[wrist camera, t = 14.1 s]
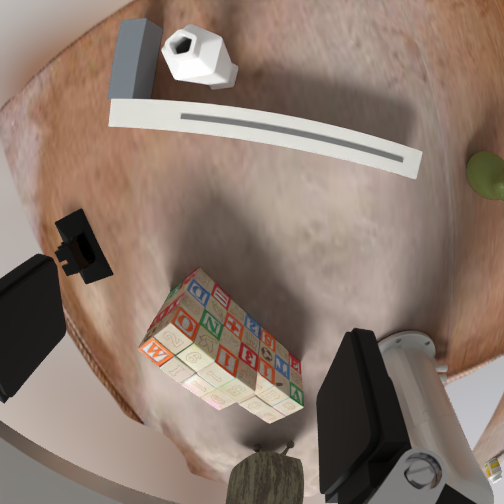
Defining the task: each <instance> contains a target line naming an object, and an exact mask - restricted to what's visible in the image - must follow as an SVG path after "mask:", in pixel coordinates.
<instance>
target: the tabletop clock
mask: <svg viewBox="0 0 504 504" xmlns="http://www.w3.org/2000/svg"><path fill="white" fill-rule="evenodd" d="M294 445H295V444H294V442H293V441H289V442H288V443H287V448H286V449H285V450H284V451H283V452H282V453H281V454H278V453H275V452H271V451H263V452H259V451H260V450H261V447H260V446H259V445H255V446H254V447H253V450H254V451H255V452H256V453H254V454H252V455H251V456H249V457H247V458H245V459H244V460H243V461H241V462H240V463H239V464H237V465H236V466H235V467H234V468H233V470H232V472H231V475H230V479H229V485H228V490H227V499H226V504H302V503H303V495H304V475H303V467H302V463H301V460H300V459H297V458H293V457H289V456H285V455H286V453H287V451H288V450H289V448H293V447H294Z"/></svg>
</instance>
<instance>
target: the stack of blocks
mask: <svg viewBox="0 0 504 504" xmlns="http://www.w3.org/2000/svg"><path fill="white" fill-rule="evenodd" d="M138 350H139V351H140V352H142V353H143V354H144V355H145V356H146V357H148V358H149V359H150V360H151V361H152V362H154V363H155V364H156V365H157V366H159V368H160V369H161V370H162V371H163V372H164V373H166V374H167V375H168V376H170V377H171V378H172V379H174V380H175V381H177V382H178V383H181V385H182V386H184V387H185V388H186V389H188V390H189V391H191V392H192V393H194V394H195V395H196V396H198V397H201V399H203V400H204V401H206V402H207V403H209V404H210V405H212V406H213V407H215V408H216V409H218V410H221V409H223V408H225V407H227V406H229V405H231V404H233V403H235V402H237V403H239V405H241V406H242V407H244V408H245V409H247V410H248V411H250V412H251V413H253V414H255V415H256V416H258V417H259V418H261V419H262V420H264V421H266V422H267V423H269V424H270V423H272V422H275V421H277V420H279V419H282V418H284V417H286V416H287V415H290V414H292V413H294V412H296V411H298V410H300V409H302V408H304V394H303V391H302V376H301V362H300V361H298V360H297V359H296V358H295V357H294V356H293V355H292V354H290V353H289V352H288V350H287V349H286V348H284V347H283V346H282V345H281V344H280V343H279V342H278V341H276V340H275V339H274V338H273V337H272V336H271V335H270V334H269V333H268V332H267V331H266V330H265V329H264V328H263V327H261V326H260V325H259V324H258V323H257V322H255V321H254V320H253V319H252V318H251V317H250V316H249V315H248V314H246V313H245V311H243V310H242V309H241V308H240V307H239V306H238V305H237V304H236V303H235V302H234V301H233V300H232V299H231V298H230V297H229V296H228V295H227V294H226V293H225V292H224V291H223V290H222V289H221V288H220V287H219V286H218V285H217V284H216V283H215V282H214V281H213V280H212V279H211V278H210V277H209V276H208V275H207V274H206V273H205V272H204V271H203V270H202V269H201V268H199V267H198V268H197V269H196V270H195V271H194V272H193V273H191V274H190V275H189V276H188V277H187V278H186V279H185V280H184V281H183V282H182V283H180V284H179V285H178V286H177V287H176V288H175V289H173V290H172V291H171V292H170V293H169V295H168V297H167V299H166V300H165V302H164V304H163V306H162V307H161V309H160V311H159V312H158V314H157V316H156V317H155V319H154V320H153V322H152V324H151V325H150V327H149V329H148V331H147V333H146V335H145V337H144V339H143V340H142V342H141V344H140V346H139V347H138Z"/></svg>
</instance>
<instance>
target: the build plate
mask: <svg viewBox="0 0 504 504" xmlns="http://www.w3.org/2000/svg"><path fill="white" fill-rule="evenodd" d="M55 225H56V227H57V229H58V231H59V233H60V235H61V238H62V240H63V242H62V243H61V245H60V246H59V247H58V250H57V251H55V254H56V256H57V258H58V260H59V262H62V261H64V260H67V262H68V263H66V264H64V265H63V266H62V268H63V270H64V272H65V273H66V275H67V276H69V275H73V274H77V273H80V275H81V276H82V278H83V280H84V282H85V284H89V283H92V282H95V281H97V280H100V279H103V278H106V277H109V276H112V275H114V274H113V272H112V270H111V268H110V266H109V264H108V262H107V260H106V258H105V256H104V254H103V252H102V250H101V248H100V246H99V244H98V242H97V240H96V238H95V235H94V233H93V231H92V229H91V227H90V225H89V223H88V220H87V218H86V216H85V214H84V211H83V209H79V210H77V211H75V212H73V213H72V214H70V215H68V216H66V217H64V218H62V219H60V220H58V221H56V222H55Z"/></svg>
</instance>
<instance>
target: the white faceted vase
mask: <svg viewBox="0 0 504 504" xmlns="http://www.w3.org/2000/svg"><path fill="white" fill-rule="evenodd" d="M162 53H163V56H164V58H165V60H166V62H167V64H168V66H169V69H170V71H171V73H172V75H173V77H174V79H176V80H182V81H189V82H195V83H201V84H207V85H209V86H210V88H211V89H212V90H215V89H223V88H231V87H234V85H235V80H236V76H237V72H238V66H237V65H235V64H233V63H232V62H231V60H230V57H229V54H228V52H227V49H226V47H225V44H224V41H223V39H222V37H220V36H218V35H216V34H214V33H212V32H209V31H207V30H205V29H202V28H200V27H197V26H195V25H192V24H189V25H187V26H186V27H185V28H184V29H182V30H181V29H180V30H178V31H176V32H175V33H174V34H173V35H172V36H171V37H170V38H169V39H168V40H167V41H166V42H165V46H164V47H163V48H162Z"/></svg>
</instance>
